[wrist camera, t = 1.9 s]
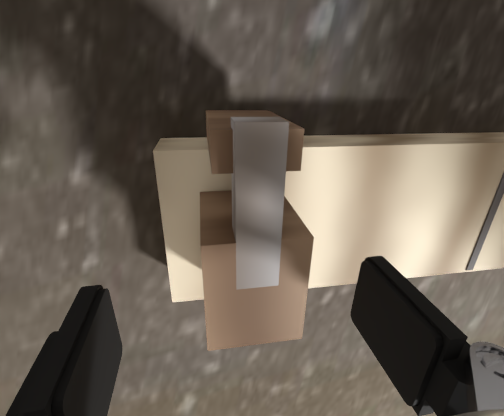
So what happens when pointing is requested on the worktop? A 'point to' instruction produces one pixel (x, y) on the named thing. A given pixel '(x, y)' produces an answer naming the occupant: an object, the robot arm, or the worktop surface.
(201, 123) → the worktop surface
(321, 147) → the birch board
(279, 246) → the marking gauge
